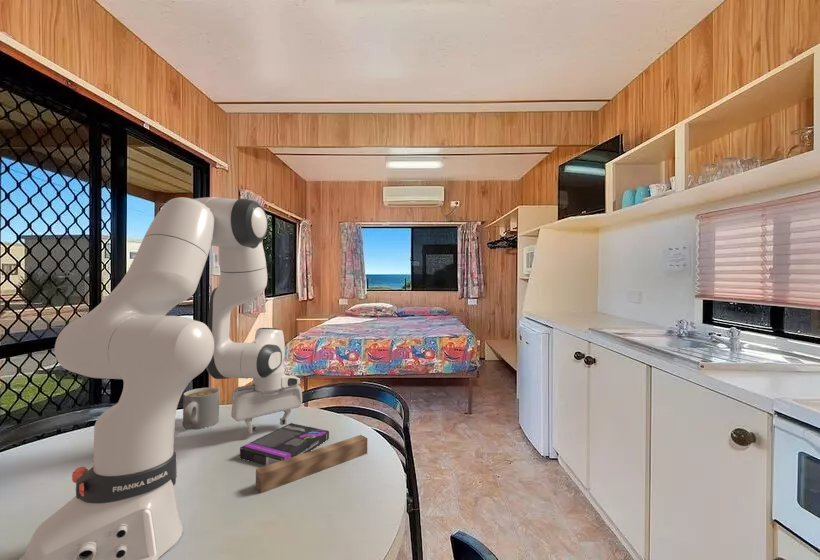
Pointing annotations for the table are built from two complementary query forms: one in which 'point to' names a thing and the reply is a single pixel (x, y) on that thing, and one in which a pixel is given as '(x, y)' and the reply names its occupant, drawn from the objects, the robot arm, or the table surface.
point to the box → (283, 444)
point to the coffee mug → (200, 408)
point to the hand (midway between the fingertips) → (268, 428)
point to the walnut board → (309, 463)
